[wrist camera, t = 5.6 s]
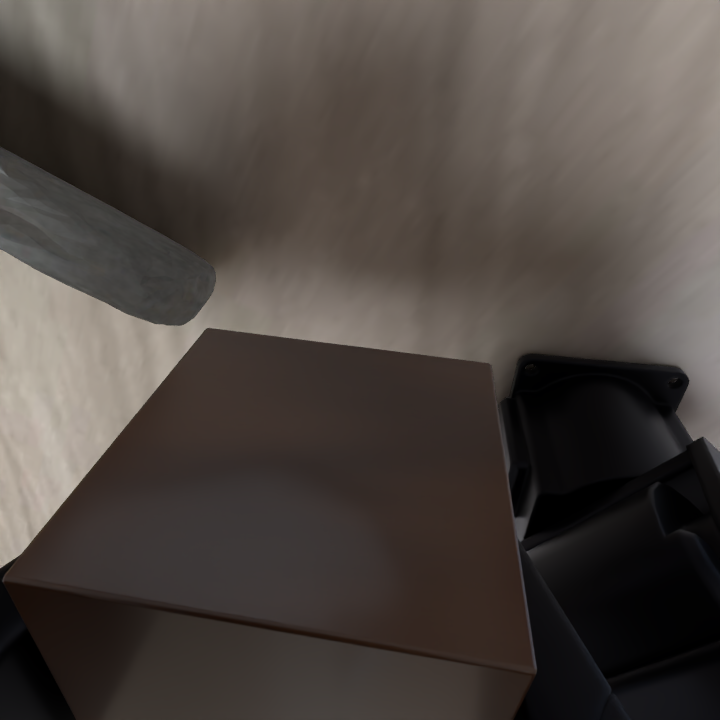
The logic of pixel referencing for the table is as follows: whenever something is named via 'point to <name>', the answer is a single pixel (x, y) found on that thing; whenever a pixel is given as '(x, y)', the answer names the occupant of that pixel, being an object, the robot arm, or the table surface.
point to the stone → (98, 247)
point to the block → (290, 546)
